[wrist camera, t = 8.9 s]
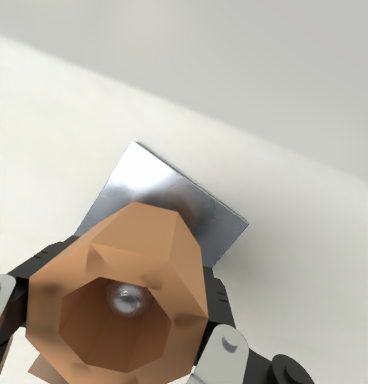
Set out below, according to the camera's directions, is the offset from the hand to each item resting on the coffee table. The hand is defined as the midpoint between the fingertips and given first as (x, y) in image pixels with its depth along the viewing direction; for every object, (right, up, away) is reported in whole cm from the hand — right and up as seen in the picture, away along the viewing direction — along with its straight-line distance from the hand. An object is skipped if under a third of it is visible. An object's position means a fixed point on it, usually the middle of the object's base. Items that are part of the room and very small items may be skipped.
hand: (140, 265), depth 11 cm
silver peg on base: (0, +1, +4) cm, 4 cm away
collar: (0, 0, +1) cm, 1 cm away
